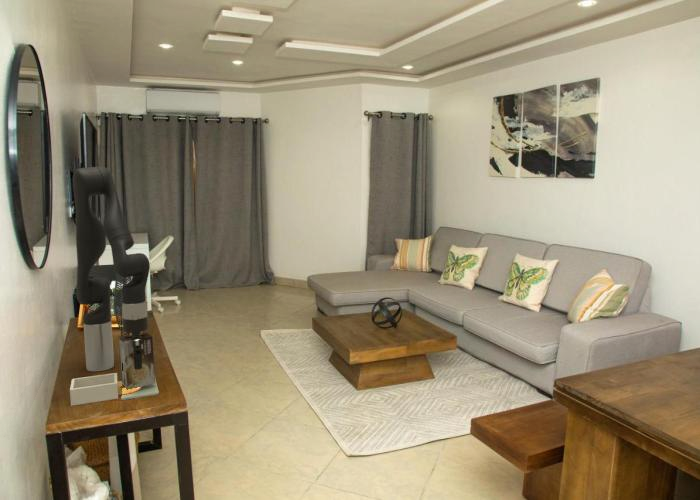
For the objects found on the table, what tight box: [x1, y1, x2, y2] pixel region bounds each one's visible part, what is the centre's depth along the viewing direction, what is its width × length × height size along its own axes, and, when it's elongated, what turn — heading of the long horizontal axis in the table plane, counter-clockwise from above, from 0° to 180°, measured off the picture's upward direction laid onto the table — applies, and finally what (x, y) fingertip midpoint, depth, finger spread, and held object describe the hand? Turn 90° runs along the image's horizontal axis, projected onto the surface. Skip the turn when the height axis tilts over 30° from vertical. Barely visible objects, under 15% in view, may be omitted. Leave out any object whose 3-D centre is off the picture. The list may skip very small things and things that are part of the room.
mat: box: [120, 377, 160, 401], centre depth 174 cm, size 14×11×1 cm
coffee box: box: [118, 332, 157, 390], centre depth 173 cm, size 9×6×16 cm
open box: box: [69, 372, 119, 407], centre depth 169 cm, size 10×13×5 cm
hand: (137, 365), depth 173 cm, fingers closed on coffee box, 7 cm apart
